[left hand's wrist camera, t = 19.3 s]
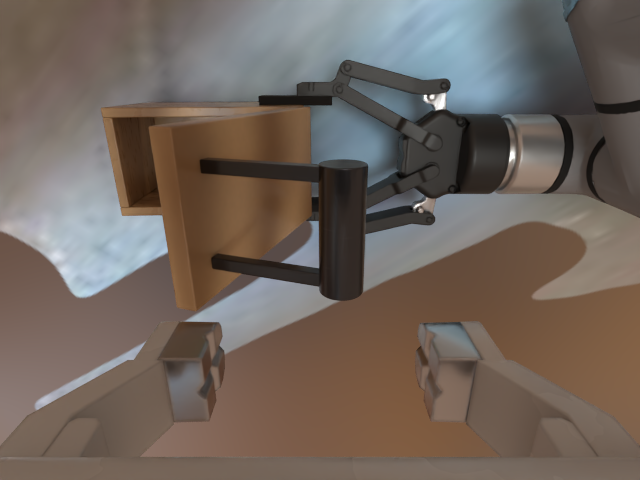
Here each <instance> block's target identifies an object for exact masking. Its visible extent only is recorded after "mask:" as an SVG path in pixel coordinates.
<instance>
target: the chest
mask: <svg viewBox="0 0 640 480" xmlns="http://www.w3.org/2000/svg"><path fill="white" fill-rule="evenodd" d="M292 107H304V105H259V102H148V103H139V104H130V105H122V106H113V107H104V108H101V111H102V116H103V121H104V126H105V131H106V136H107V142H108V147H109V152H110V157H111V162H112V167H113V172H114V177H115V182H116V187H117V192H118V197H119V202H120V207H121V212H122V216H138V215H162V209H161V203H160V197H159V190H158V184H157V178H156V172H155V165H154V159H153V153H152V146H151V140H150V134H149V126H154V125H162V124H169V123H177V122H185V121H192V120H200V119H207V118H215V117H223V116H230V115H238V114H246V113H253V112H261V111H269V110H276V109H284V108H292Z"/></svg>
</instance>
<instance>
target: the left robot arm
mask: <svg viewBox="0 0 640 480" xmlns="http://www.w3.org/2000/svg"><path fill="white" fill-rule="evenodd" d="M221 339H222V330H221V325H220V324H219V322H161V323H159V324H158V325H157V327H156V328H155V330H154V331H153V333H152V334H151V336H150V337H149V338H148V340H147V341H146V343H145V344H144V346H143V347H142V349H141V350H140V352H139V353H138V355H137V356H136V358H135V359H134V360H127V361H125V362H124V363H122V364H120V365H118V366H116V367H114V368H113V369H111V370H109V371H107V372H105V373H104V374H102V375H100V376H98V377H96V378H95V379H93V380H91V381H89V382H87V383H86V384H84V385H82V386H80V387H78V388H77V389H75V390H73V391H71V392H69V393H68V394H66V395H64V396H62V397H60V398H58V399H57V400H55V401H53V402H51V403H49V404H48V405H46V406H44V407H42V408H40V409H39V410H37V411H35V412H33V413H31V414H30V415H28V416H27V417H26V418H25V419H24V420H23V421H22V422H21V423H20V424H19V426H18V427H17V428H16V429H15V430H14V431H13V432H12V433H11V435H10V436H9V437H8V438H7V439H6V440H5V441H4V442H3V444H2V445H1V446H0V480H640V446H639V445H638V443H637V442H636V441H635V440H634V439H633V438H632V437H631V436H630V434H629V433H628V432H627V431H626V430H625V429H624V428H623V426H622V425H621V424H620V423H619V422H618V421H617V420H616V419H615V417H614V416H612V415H610V414H608V413H606V412H605V411H603V410H601V409H599V408H597V407H596V406H594V405H592V404H590V403H588V402H587V401H585V400H583V399H581V398H579V397H578V396H576V395H574V394H572V393H570V392H569V391H567V390H565V389H563V388H561V387H560V386H558V385H556V384H554V383H552V382H551V381H549V380H547V379H545V378H543V377H542V376H540V375H538V374H536V373H534V372H533V371H531V370H529V369H527V368H525V367H524V366H522V365H520V364H518V363H516V362H515V361H513V360H506V359H505V358H504V356H503V355H502V353H501V352H500V350H499V349H498V348H497V346H496V345H495V343H494V342H493V340H492V339H491V337H490V336H489V334H488V333H487V332H486V330H485V329H484V327H483V326H482V324H481V323H480V322H478V321H472V322H446V323H420V325H419V329H418V339H419V342H420V344H421V346H420V347H419V348H418V349H417V350H416V357H415V369H416V377H417V381H418V384H419V387H420V388H421V389H422V390H423V391H425V394H424V403H425V406H426V409H427V412H428V414H429V417H430V420H431V421H436V422H466V424H467V425H468V426H469V427H470V428H471V429H472V430H473V431H474V432H475V433H476V434H477V435H478V436H479V437H480V438H481V439H482V440H483V441H485V442H486V443H487V444H488V445H489V446H490V447H491V448H492V449H493V450H494V451H495V452H496V453H497V454H498V455H499V456H500V457H140V456H141V455H142V454H143V453H144V452H145V451H146V450H147V449H148V448H149V447H150V446H151V445H153V444H154V443H155V442H156V441H157V440H158V439H159V438H160V437H161V436H162V435H163V434H164V433H165V432H166V431H167V430H168V429H169V428H170V427H171V426H173V425H174V422H202V421H209V420H210V418H211V414H212V412H213V408H214V406H215V403H216V394H215V391H217V390H218V389H219V388H220V387H221V384H222V381H223V376H224V369H225V356H224V350H223V349H222V348H221V347H220V346H219V344H220V342H221Z"/></svg>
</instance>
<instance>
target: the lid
mask: <svg viewBox="0 0 640 480" xmlns="http://www.w3.org/2000/svg"><path fill="white" fill-rule="evenodd" d="M149 134H150V140H151V146H152V153H153V159H154V165H155V172H156V178H157V184H158V190H159V197H160V203H161V209H162V216H163V222H164V228H165V234H166V241H167V247H168V253H169V260H170V266H171V272H172V278H173V285H174V291H175V297H176V303H177V307H178V308H182V309H186V310H191V311H197V310H198V309H200V308H201V307H202V306H203V305H204V304H206V303H207V302H208V301H209V300H210V299H212V298H213V297H214V296H215V295H216V294H218V293H219V292H220V291H221V290H222V289H224V288H225V287H226V286H227V285H229V284H230V283H231V282H232V281H233V280H235V279H236V278H237V277H238V276H239V275H241V274H246V275H253V276H258V277H264V278H271V279H277V280H283V281H289V282H295V283H301V284H307V285H313V286H319V290H320V293H321V294H322V295H323V296H325V297H326V298H329V299H332V300H339V301H345V300H352V299H355V298H357V297H359V296H360V295H361V294H362V292H363V278H364V253H365V228H366V203H367V178H368V164H367V163H365V162H362V161H357V160H328V161H324V162H321V163H319V164H311V119H310V107H292V108H284V109H276V110H269V111H261V112H253V113H246V114H238V115H230V116H223V117H215V118H207V119H200V120H192V121H185V122H177V123H169V124H162V125H154V126H149ZM311 182H317V183H319V268H312V267H306V266H299V265H292V264H286V263H279V262H272V261H266V260H259V259H260V258H261V257H262V256H264V255H265V254H266V253H267V252H268V251H270V250H271V249H272V248H273V247H274V246H276V245H277V244H278V243H279V242H280V241H282V240H283V239H284V238H285V237H286V236H288V235H289V234H290V233H291V232H293V231H294V230H295V229H296V228H297V227H299V226H300V225H301V224H302V223H303V222H305V221H306V220H307V219H308V218H309V217H311V216H312V195H311Z"/></svg>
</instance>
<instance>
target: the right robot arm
mask: <svg viewBox="0 0 640 480" xmlns="http://www.w3.org/2000/svg"><path fill="white" fill-rule="evenodd" d="M562 3H563V7H564V13H563V16H564V18H565V21H566V22H568V25H569V28H570V31H571V34H572V37H573V40H574V43H575V46H576V49H577V52H578V55H579V58H580V61H581V64H582V68H583V71H584V74H585V77H586V80H587V83H588V86H589V89H590V92H591V95H592V98H593V101H594V105H595V108H596V111H597V114H588V115H551V114H506V115H504V116H502V117H500V116H499V115H497V114H453V113H451V112H450V111H448V110H446V92H447V91H449V89H450V86H451V84H450V81H449V80H448V79H431V80H420V79H416V78H413V77H409V76H405V75H402V74H398V73H395V72H391V71H387V70H384V69H380V68H376V67H373V66H369V65H365V64H362V63H358V62H354V61H351V60H345V61H344V62H342V64H341V65H340V67H339V70H338V73H337V76H336V78H335V79H334V80H333V81H332V82H302V83H300V84H297V95H263V96H259V105H332V97H339V98H341V99H342V100H344V101H346V102H348V103H350V104H351V105H353V106H355V107H357V108H358V109H360V110H362V111H364V112H366V113H367V114H369V115H371V116H373V117H374V118H376V119H378V120H380V121H382V122H383V123H385V124H387V125H389V126H391V127H392V128H394V129H396V130H398V131H399V132H401V133H402V135H401V137H399V150H400V155H399V158H398V161H397V169H398V171H397V172H395V173H393V174H392V175H390V176H389V177H388V178H386V179H384V180H382V181H380V182H378V183H376V184H374V185H372V186H370V187H368V188H367V203H366V209H367V208H369V207H371V206H373V205H375V204H377V203H379V202H382V201H384V200H386V199H388V198H390V197H392V196H394V195H396V194H401V193H404V192H406V191H408V190H410V189H412V188H415V189H417V190H418V191H419V192H421V193H422V194H423V195H424V197H423V198H422V199H421V200H418V201H414V202H413V203H412V205H411V206H401V207H397V208H392V209H388V210H384V211H379V212H375V213H371V214H367V215H366V228H365V234H368V233H373V232H377V231H381V230H386V229H390V228H395V227H399V226H403V225H408V224H420V225H432V224H433V223H434V222H435V216H434V215H433V210H434V205H435V201H436V198H439V197H441V196H443V195H445V194H490V193H492V192H494V191H495V192H496V193H498V194H537V193H546V194H548V193H557V194H582V195H587V196H590V197H592V198H594V199H597V200H599V201H601V202H604V203H606V204H609V205H612V206H614V207H616V208H619V209H621V210H623V211H625V212H628V213H630V214H632V215H635V216H637V217H639V218H640V0H562ZM351 77H352V78H356V79H360V80H363V81H367V82H371V83H374V84H378V85H382V86H385V87H389V88H393V89H397V90H400V91H404V92H408V93H412V94H420V95H421V99H422V101H423V102H425V103H429V104H431V105H432V107H433V110H432V111H431V112H429V113H428V114H426V115H425V116H424V117H422V118H421V119H419V120H418V121H417V122H415V123H412V122H410V121H409V120H407V119H405V118H403V117H401V116H400V115H398V114H396V113H394V112H393V111H391V110H389V109H387V108H385V107H384V106H382V105H380V104H378V103H377V102H375V101H373V100H371V99H370V98H368V97H366V96H364V95H363V94H361V93H359V92H357V91H356V90H354V89H352V88H350V87H349V86H348V84H349V81H350V79H351ZM306 221H319V197H312V216H311V217H309V218H308V219H307V220H306Z"/></svg>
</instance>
